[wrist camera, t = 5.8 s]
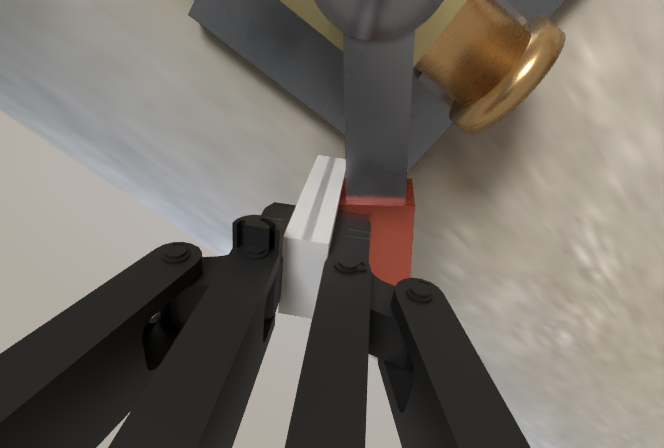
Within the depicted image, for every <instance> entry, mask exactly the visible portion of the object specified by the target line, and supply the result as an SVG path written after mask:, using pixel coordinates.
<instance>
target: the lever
mask: <svg viewBox="0 0 664 448" xmlns="http://www.w3.org/2000/svg"><path fill="white" fill-rule="evenodd" d="M314 1H315V3H316V5H317V6H318V8H319V9H320V11H321V12H322V14H323V15H324V16H325V17H326V18H327V20H329V21H330V22H331V23H332V24H333V25H334V26H335V27H337V28H338V29H339V30H341V31H342V32H343V58H344V107H345V157H346V178H344V182H343V187H342V191H341V196H340V201H339V206H338V211H340V212H347V213H353V214H360V215H366V217H367V218H368V220H369V221H370V223H371V232H370V250H369V264H370V267H371V272H372V273H373V274H374V275H375V276H376V277H378V278H379V279H381V280H382V281H384V282H387V283H389V284H392V285H394V286H396V284H397V282H399V281H401V280H403V279H407V278H410V270H411V255H412V241H413V226H414V212H415V203H414V194H413V185H412V179H407V165H408V147H409V129H410V112H411V94H412V76H413V59H414V41H415V29H417V28H418V27H419V26H421V25H422V24H424V23H425V22H426V21H427V20H428V19H429V18H430V17H431V16H432V15H433V14H434V13H435V11H436V10H437V9H438V8H439V7H440V5H441V4H442V2H443V1H444V0H314Z"/></svg>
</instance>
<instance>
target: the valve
mask: <svg viewBox="0 0 664 448" xmlns="http://www.w3.org/2000/svg"><path fill="white" fill-rule="evenodd" d="M564 1H565V0H444V1H443V2H442V4H441V5H440V7H439V8H438V9H437V10H436V11H435V13H434V14H433V15H432V16H431V17H430V18H429V19H428V20H427V21H426V22H425V23H424V24H422V25H421V26H419V27H418V28H417V29H415V41H414V59H413V76H412V94H411V112H410V129H409V147H408V165H407V172H408V171H409V170H410V169H411V168H412V167H413V166H414V165H415V164H416V162H417V161H418V160H419V159H420V158H421V157H422V156H423V155H424V154H425V153H426V152H427V150H428V149H429V148H430V147H431V146H432V145H433V144H434V143H435V142H436V141H437V140H438V138H439V137H440V136H441V135H442V134H443V133H444V132H445V131H446V130H447V129H448V128H449V127H450V125H451V124H452V123H454V124H456V125H457V126H458V127H459V128H460V129H462V130H463V131H464V132H465V133H467V134H476V133H479V132H481V131H483V130H485V129H487V128H489V127H491V126H492V125H494V124H495V123H497V122H498V121H500V120H501V119H502V118H504V117H505V116H506V115H507V114H508V113H510V112H511V111H512V110H513V109H514V108H515V107H517V106H518V105H519V104H520V103H521V102H522V101H523V100H524V99H525V98H526V97H527V96H528V95H529V94H530V93H531V92H532V91H533V90H534V89H535V87H536V86H537V85H538V84H539V83H540V82H541V80H542V79H543V78H544V77H545V75H546V74H547V73H548V72H549V70H550V69H551V67H552V66H553V64H554V63H555V61H556V60H557V58H558V56H559V54H560V53H561V51H562V48H563V46H564V43H565V33H564V32H563V31H562V30H561V29H560V28H559V27H558V26H557V25H556V24H555V23H554V22H552V21H551V20H550V19H549V17H550V16H551V15H552V14H553V13H554V12H555V11H556V10H557V9H558V8H559V7H560V5H561V4H562V3H563V2H564ZM188 15H189V16H190V17H192V18H193V19H194V20H195V21H197V22H198V23H199V24H201V25H202V26H203V27H205V28H206V29H207V30H208V31H210V32H211V33H212V34H214V35H215V36H216V37H218V38H219V39H220V40H222V41H223V42H224V43H225V44H227V45H228V46H229V47H231V48H232V49H233V50H235V51H236V52H237V53H238V54H240V55H241V56H242V57H244V58H245V59H246V60H248V61H249V62H250V63H252V64H253V65H254V66H255V67H257V68H258V69H259V70H261V71H262V72H263V73H265V74H266V75H267V76H268V77H270V78H271V79H272V80H274V81H275V82H276V83H278V84H279V85H280V86H282V87H283V88H284V89H285V90H287V91H288V92H289V93H291V94H292V95H293V96H295V97H296V98H297V99H298V100H300V101H301V102H302V103H304V104H305V105H306V106H308V107H309V108H310V109H311V110H313V111H314V112H315V113H317V114H318V115H319V116H321V117H322V118H323V119H325V120H326V121H327V122H328V123H330V124H331V125H332V126H334V127H335V128H336V129H338V130H339V131H340V132H341V133H343V134H344V135H345V107H344V58H343V32H342V31H341V30H339V29H338V28H337V27H335V26H334V25H333V24H332V23H331V22H330V21H329V20H327V18H326V17H325V16H324V15H323V14H322V12H321V11H320V9H319V8H318V6H317V5H316V3H315V1H314V0H195V1H194V3H193V5H192V7H191V10H190V12H189V14H188Z"/></svg>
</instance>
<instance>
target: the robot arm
mask: <svg viewBox="0 0 664 448" xmlns="http://www.w3.org/2000/svg"><path fill="white" fill-rule="evenodd" d="M345 176H346V159H342V158H335V157H329V156H322V155H318V156H317V158H316V161H315V163H314V165H313V168H312V170H311V172H310V175H309V177H308V180H307V182H306V184H305V187H304V189H303V191H302V194H301V196H300V198H299V201H298V203H297V205H296V206H295V205H289V204H282V203H276V202H274V203H273V204H271V205H269V206H268V207H266V208H265V209H264V211H263V213H262V214H261V215H248V216H243V217H241V218H238V219H236V220H235V221H234V222H233V223H232V224H233V249H232V250H231V252H230V253H229V255H225V256H217V257H202V252H201V250H200V249H199V247H197V246H195V245H193V244H190V243H185V242H173V243H169V244H165V245H162V246H160V247H159V248H156V249H155V250H153V251H152V252H150V253H149V254H147V255H146V256H145V257H143V258H141V259H140V260H138V261H137V262H135V263H134V264H133V265H131V266H129V267H128V268H127V269H125V270H123V271H122V272H121V273H119V274H118V275H116V276H115V277H113V278H112V279H110V280H109V281H107V282H106V283H104V284H103V285H101V286H100V287H98V288H97V289H95V290H94V291H92V292H91V293H89V294H88V295H87V296H85V297H84V298H82V299H81V300H79V301H78V302H76V303H75V304H73V305H72V306H70V307H69V308H67V309H66V310H64V311H63V312H61V313H60V314H58V315H57V316H55V317H54V318H52V319H51V320H50V321H48V322H47V323H45V324H44V325H42V326H41V327H39V328H38V329H36V330H35V331H33V332H32V333H30V334H29V335H27V336H26V337H24V338H23V339H22V340H20V341H18V342H17V343H15V344H14V345H13V346H11V347H10V348H8V349H7V350H5V351H4V352H2V353H1V354H0V448H96V447H97V446H98V445H99V444H100V443H101V442H102V441H103V440H104V439H105V438H106V437H107V436H108V435H109V434H110V432H111V431H112V430H113V429H114V428H115V427H116V426H117V425H118V424H119V423H120V422H121V421H122V420H123V419H124V418H125V416H126V415H127V414H128V413H129V412H130V411H131V412H130V414H129V415H128V417H127V419H126V420H125V422H124V423H123V425H122V426H121V428H120V430H119V431H118V433H117V434H116V436H115V438H114V439H113V441H112V443H111V444H110V446H109V447H108V448H232V446H233V443H234V440H235V438H236V435H237V431H238V429H239V426H240V423H241V420H242V417H243V415H244V412H245V409H246V406H247V403H248V400H249V397H250V395H251V392H252V389H253V386H254V383H255V380H256V377H257V374H258V372H259V369H260V365H261V363H262V360H263V357H264V354H265V351H266V348H267V346H268V343H269V340H270V337H271V334H272V331H273V329H274V326H275V312H276V309H277V306H278V303H279V313H283V314H289V315H294V316H300V317H306V318H312V323H311V327H310V332H309V337H308V342H307V346H306V351H305V355H304V361H303V365H302V370H301V375H300V379H299V384H298V388H297V393H296V398H295V402H294V407H293V412H292V416H291V421H290V426H289V430H288V435H287V440H286V444H285V448H365V433H366V431H365V430H366V404H367V377H368V353H369V354H371V355H373V356H375V357H377V358H378V366H379V369H380V372H381V376H382V379H383V383H384V386H385V390H386V393H387V396H388V400H389V404H390V407H391V411H392V414H393V418H394V421H395V425H396V428H397V431H398V435H399V438H400V442H401V445H402V448H530V446H529V444H528V442H527V441H526V439H525V437H524V435H523V434H522V432H521V430H520V428H519V426H518V425H517V423H516V421H515V419H514V418H513V416H512V414H511V412H510V410H509V409H508V407H507V405H506V403H505V402H504V400H503V398H502V396H501V395H500V393H499V391H498V389H497V387H496V386H495V384H494V382H493V380H492V379H491V377H490V375H489V373H488V372H487V370H486V368H485V366H484V364H483V363H482V361H481V359H480V357H479V356H478V354H477V352H476V350H475V348H474V347H473V345H472V343H471V341H470V340H469V338H468V336H467V334H466V333H465V331H464V329H463V327H462V325H461V324H460V322H459V320H458V318H457V317H456V315H455V313H454V311H453V310H452V308H451V306H450V304H449V302H448V301H447V299H446V297H445V295H444V294H443V292H442V291H441V290H440V289H439V288H438V287H437V286H435V285H434V284H432V283H431V282H428V281H426V280H423V279H418V278H407V279H403V280H401V281H399V282H397V284H396V286H394V285H392V284H389V283H387V282H384V281H382V280H381V279H379V278H378V277H376V276H375V275H374V274H373V273H372V272H371V267H370V264H369V250H370V232H371V223H370V221H369V220H368V218H367V217H366V215H360V214H353V213H347V212H340V211H338V206H339V201H340V196H341V191H342V187H343V182H344V178H345ZM156 313H157V314H156ZM155 314H156V315H155ZM154 315H155V316H154ZM153 316H154V317H153ZM152 317H153V318H152Z"/></svg>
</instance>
